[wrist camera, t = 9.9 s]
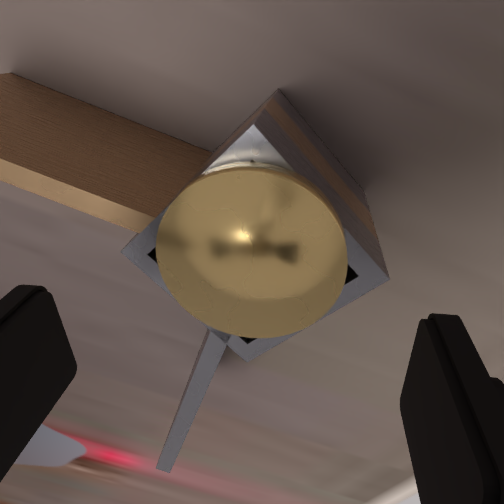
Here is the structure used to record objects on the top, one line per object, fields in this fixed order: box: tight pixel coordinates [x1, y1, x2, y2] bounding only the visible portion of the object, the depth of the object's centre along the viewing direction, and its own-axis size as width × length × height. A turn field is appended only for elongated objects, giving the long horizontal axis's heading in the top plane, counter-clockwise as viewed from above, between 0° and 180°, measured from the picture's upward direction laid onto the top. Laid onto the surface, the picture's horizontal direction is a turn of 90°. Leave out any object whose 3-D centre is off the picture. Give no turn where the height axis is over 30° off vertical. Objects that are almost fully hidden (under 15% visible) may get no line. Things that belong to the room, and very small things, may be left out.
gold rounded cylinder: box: [156, 159, 348, 338], centre depth 15 cm, size 6×6×8 cm
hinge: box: [0, 73, 390, 473], centre depth 18 cm, size 16×20×8 cm
